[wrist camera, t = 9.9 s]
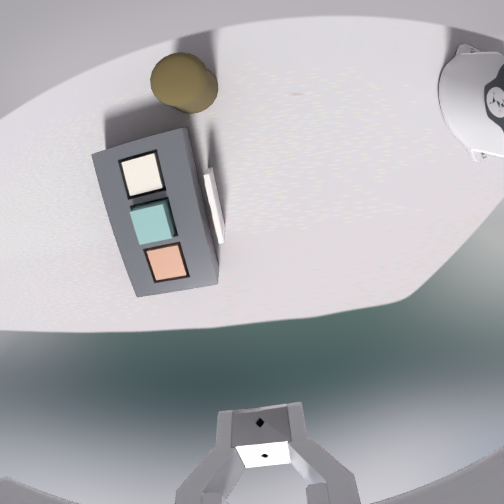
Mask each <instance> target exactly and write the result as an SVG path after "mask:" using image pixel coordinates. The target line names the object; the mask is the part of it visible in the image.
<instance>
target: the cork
mask: <svg viewBox="0 0 504 504" xmlns="http://www.w3.org/2000/svg"><path fill="white" fill-rule="evenodd" d="M150 82H151V89H152V91H153V93H154V95H155V97H156V98H157V99H158V100H159V101H160V102H162V103H165V104H167V105H170V106H174V107H175V108H176V109H178V110H180V111H182V112H184V113H191V114H192V113H198V112H201V111H203V110H205V109H207V108H208V107H209V106H210V105H212V104H213V102H214V100H215V99H216V97H217V93H218V83H217V80H216V78H215V76H214V75H213V74H212V73H211V72H210V71H209V70H207V69H206V68H205V66H204V64H203V62H202V61H201V60H200V59H199V58H198V57H196V56H194V55H192V54H189V53H174V54H170V55H168V56H166V57H164V58H163V59H161V60H160V61H159V62H158V63H157V64H156V66H155V67H154V69H153V71H152V74H151V78H150Z"/></svg>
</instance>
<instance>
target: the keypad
mask: <svg viewBox="0 0 504 504" xmlns="http://www.w3.org/2000/svg"><path fill="white" fill-rule="evenodd" d="M154 152H158V156H159V161H160V165H161V169H162V173H163V178H164V182H165V186H164V187H163V188H160V189H156V190H152V191H148V192H144V193H140V194H136V195H132V196H130V194H129V190H128V186H127V182H126V179H125V175H124V171H123V167H122V162H124V161H127V160H129V159H132V158H136V157H139V156H143V155H146V154H150V153H154ZM91 155H92V159H93V163H94V167H95V171H96V175H97V178H98V182H99V186H100V190H101V193H102V197H103V200H104V204H105V207H106V210H107V214H108V217H109V220H110V223H111V226H112V230H113V233H114V236H115V239H116V242H117V245H118V248H119V251H120V253H121V256H122V259H123V262H124V265H125V267H126V270H127V273H128V276H129V278H130V281H131V283H132V286H133V289H134V291H135V294H136V296H137V297H143V296H149V295H156V294H162V293H168V292H175V291H181V290H187V289H193V288H199V287H205V286H211V285H217V284H218V277H219V265H218V261H217V257H216V253H215V249H214V245H213V241H212V236H211V232H210V228H209V224H208V219H207V215H206V211H205V206H204V202H203V198H202V193H201V189H200V184H199V180H198V175H197V171H196V166H195V161H194V157H193V152H192V147H191V143H190V138H189V133H188V128H187V127H186V128H179V129H175V130H171V131H167V132H163V133H160V134H156V135H152V136H149V137H145V138H142V139H138V140H135V141H131V142H128V143H125V144H122V145H118V146H115V147H112V148H109V149H106V150H103V151H100V152H97V153H94V154H91ZM204 179H205V187H206V192H207V196H208V201H209V204H210V207H211V211H212V218H213V223H214V227H215V231H216V234H217V237H218V242H219V244H221V243H224V239H225V224H224V219H223V215H222V210H221V205H220V201H219V196H218V191H217V186H216V182H215V177H214V172H213V167H211V168H207V170H206V172H205V174H204ZM164 198H169V202H170V206H171V210H172V213H173V217H174V221H175V225H176V231H175V233H174V235H173V237H172V238H171V239H166V240H161V241H156V242H151V243H146V244H142V245H139V241H138V238H137V235H136V232H135V229H134V225H133V222H132V219H131V215H130V211H131V210H132V209H133V208H134V207H136V206H137V205H138V204H143V203H147V202H151V201H155V200H159V199H164ZM175 242H180V243H181V247H182V250H183V254H184V257H185V261H186V264H187V268H188V271H187V275H184V276H178V277H173V278H167V279H161V280H156V278H155V275H154V272H153V269H152V266H151V263H150V260H149V257H148V254H147V250H148V248H150V247H155V246H160V245H165V244H170V243H175Z"/></svg>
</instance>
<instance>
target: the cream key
mask: <svg viewBox="0 0 504 504" xmlns="http://www.w3.org/2000/svg"><path fill="white" fill-rule="evenodd" d="M122 167H123V171H124V175H125V179H126V182H127V186H128V190H129V194H130V196H132V195H136V194H140V193H144V192H148V191H152V190H156V189H160V188H163V187H164V186H165V182H164V178H163V173H162V169H161V165H160V161H159V156H158V152H154V153H150V154H146V155H143V156H139V157H136V158H132V159H129V160H127V161H124V162H122Z"/></svg>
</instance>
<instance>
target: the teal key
mask: <svg viewBox="0 0 504 504" xmlns="http://www.w3.org/2000/svg"><path fill="white" fill-rule="evenodd" d="M130 215H131V219H132V222H133V225H134V229H135V232H136V235H137V238H138V241H139V245H142V244H146V243H151V242H156V241H161V240H166V239H171V238H172V237H173V235H174V233H175V231H176V225H175V221H174V217H173V213H172V210H171V206H170V202H169V198H164V199H159V200H155V201H151V202H147V203H143V204H138V205H137V206H136V207H134V208H133V209H132V210H131V211H130Z"/></svg>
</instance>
